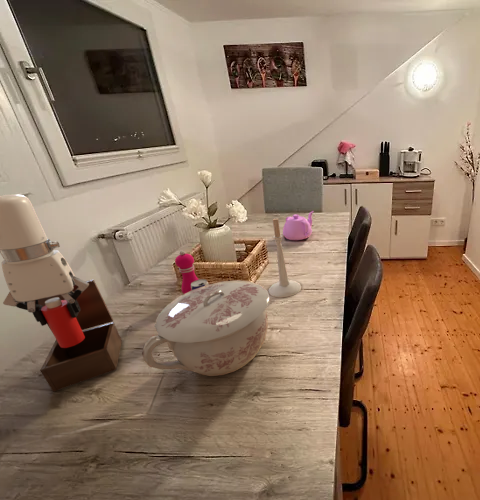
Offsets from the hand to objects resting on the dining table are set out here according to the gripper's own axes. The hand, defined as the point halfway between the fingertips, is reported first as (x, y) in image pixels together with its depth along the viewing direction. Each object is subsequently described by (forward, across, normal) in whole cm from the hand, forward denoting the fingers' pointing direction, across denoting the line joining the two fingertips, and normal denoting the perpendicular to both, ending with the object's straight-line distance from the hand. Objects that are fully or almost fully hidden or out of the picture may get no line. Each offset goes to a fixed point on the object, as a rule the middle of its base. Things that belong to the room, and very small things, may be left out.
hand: (61, 317), depth 69 cm
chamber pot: (+17, -34, +15) cm, 41 cm away
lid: (+2, 0, -8) cm, 8 cm away
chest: (+17, -1, -2) cm, 18 cm away
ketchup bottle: (+7, 0, 0) cm, 7 cm away
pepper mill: (+17, -28, -24) cm, 41 cm away
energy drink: (+17, -31, -11) cm, 37 cm away
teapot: (+16, -90, -65) cm, 112 cm away
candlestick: (+17, -60, -10) cm, 63 cm away
